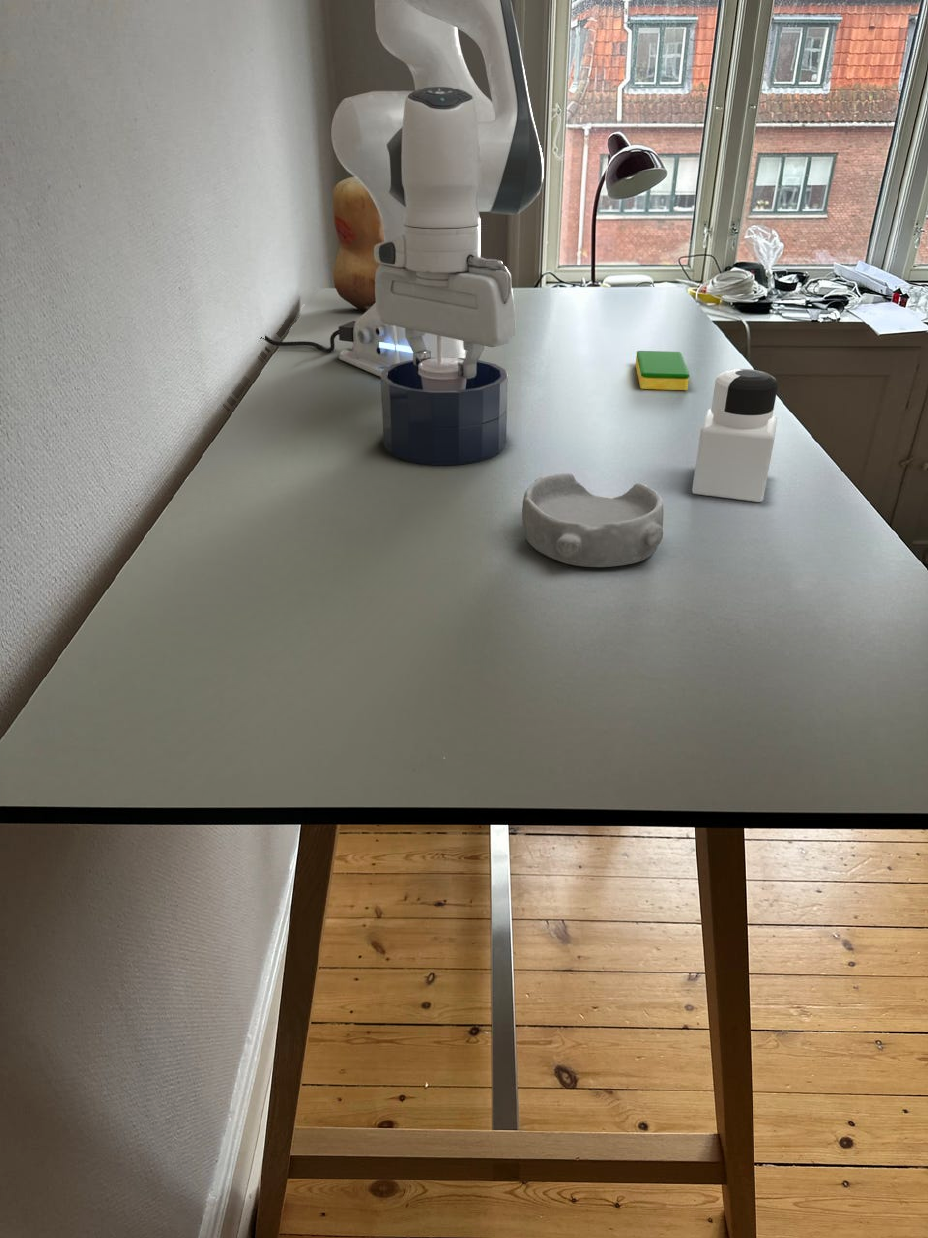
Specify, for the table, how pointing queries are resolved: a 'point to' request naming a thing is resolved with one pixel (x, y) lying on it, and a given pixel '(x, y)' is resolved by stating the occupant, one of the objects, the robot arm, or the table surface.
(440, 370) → the smoothie
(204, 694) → the table surface
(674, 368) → the dish sponge
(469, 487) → the table surface
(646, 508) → the dish
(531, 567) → the table surface
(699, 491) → the container
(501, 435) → the pot
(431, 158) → the robot arm
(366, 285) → the butternut squash
